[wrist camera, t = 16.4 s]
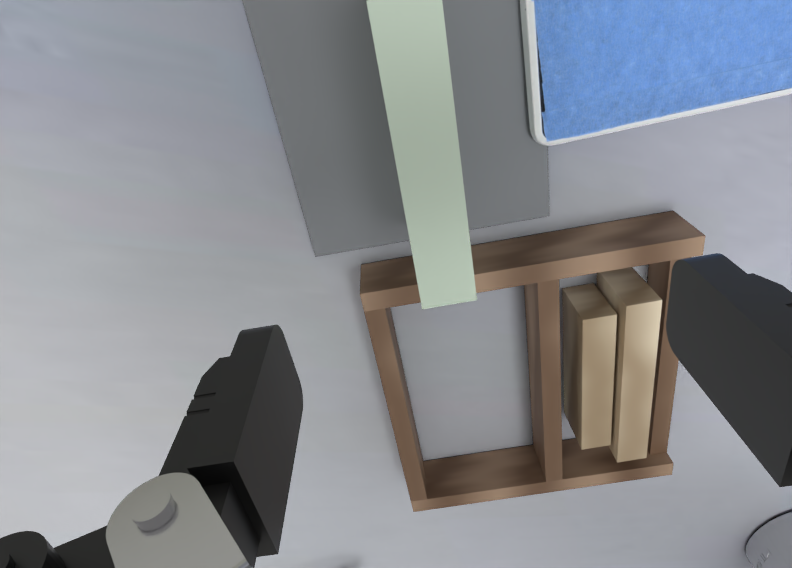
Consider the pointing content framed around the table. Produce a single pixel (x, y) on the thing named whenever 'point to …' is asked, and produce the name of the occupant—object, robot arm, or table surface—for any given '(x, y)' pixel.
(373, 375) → the table surface
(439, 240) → the tall block
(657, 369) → the storage rack
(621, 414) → the offcut stack
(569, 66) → the tablet computer
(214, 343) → the table surface
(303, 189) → the mat
